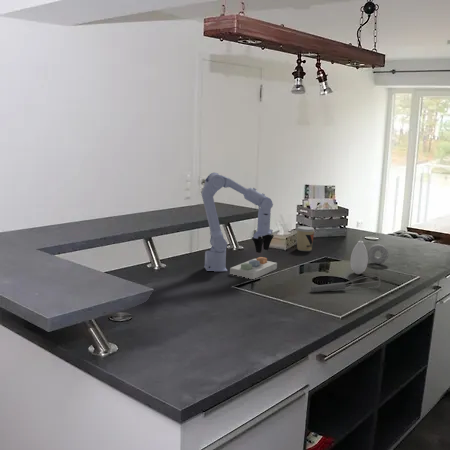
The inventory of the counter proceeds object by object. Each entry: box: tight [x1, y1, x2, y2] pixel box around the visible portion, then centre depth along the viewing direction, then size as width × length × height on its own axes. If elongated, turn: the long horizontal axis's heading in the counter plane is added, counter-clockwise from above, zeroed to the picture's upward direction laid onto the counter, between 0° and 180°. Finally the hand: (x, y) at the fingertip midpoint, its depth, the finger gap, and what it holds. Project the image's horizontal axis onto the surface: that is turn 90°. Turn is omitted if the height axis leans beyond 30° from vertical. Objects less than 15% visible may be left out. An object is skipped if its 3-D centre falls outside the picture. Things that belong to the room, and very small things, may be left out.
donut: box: [367, 243, 389, 265], centre depth 269 cm, size 10×4×10 cm, turn 65°
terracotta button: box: [256, 256, 268, 264], centre depth 253 cm, size 4×4×3 cm
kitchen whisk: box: [306, 274, 382, 294], centre depth 226 cm, size 6×34×6 cm, turn 106°
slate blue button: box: [248, 259, 260, 267], centre depth 247 cm, size 4×4×3 cm
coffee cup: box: [296, 225, 316, 252], centre depth 293 cm, size 9×9×12 cm
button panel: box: [229, 258, 278, 280], centre depth 248 cm, size 22×12×3 cm, turn 147°
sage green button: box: [240, 262, 252, 270], centre depth 242 cm, size 4×4×3 cm
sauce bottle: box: [349, 236, 369, 275], centre depth 250 cm, size 8×8×18 cm
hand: (262, 251), depth 252 cm, fingers open, 6 cm apart
